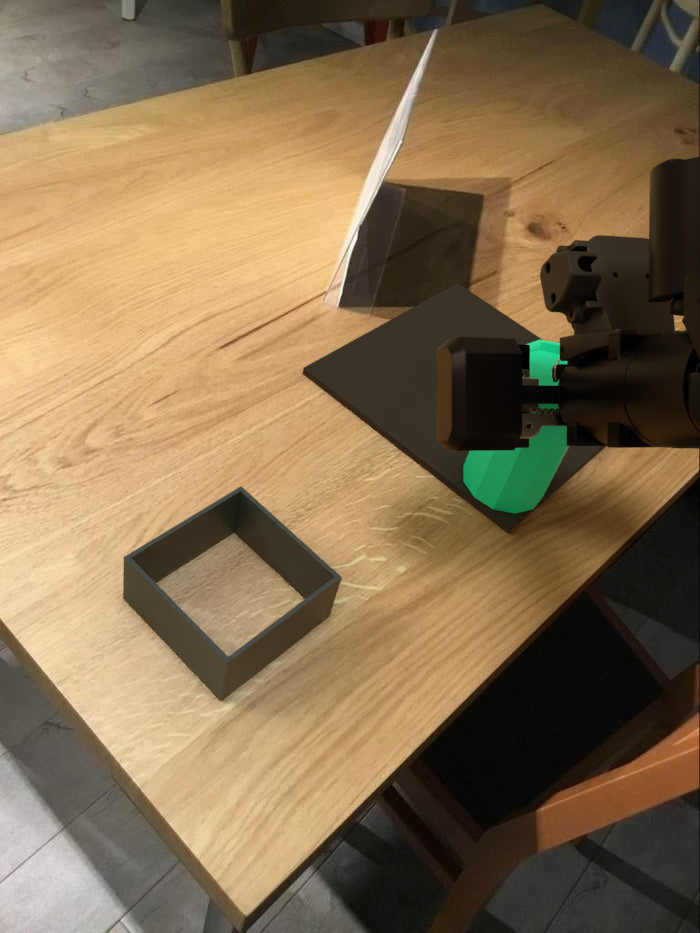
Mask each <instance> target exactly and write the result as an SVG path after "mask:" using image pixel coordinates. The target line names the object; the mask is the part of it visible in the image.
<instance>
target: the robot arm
mask: <svg viewBox="0 0 700 933" xmlns="http://www.w3.org/2000/svg"><path fill="white" fill-rule="evenodd" d="M648 211H649V212H648V214H649V215H648V216H649V217H648V218H649V222H648V238H647V237H636V236H635V237H634V236H619V235H606V234H605V235H602V234H600V235H598V234H597V235H594V236H592V237H591V238H590V239H588V240H581V239H580V240H579V239H574V240H573V241H572V242H571V243H570V244H568V245H558V247H556V250H555V252H554V253H552V254H551V255H550V256H549V257H548V258H547V259H546V260H545V262H544V263H543V264H542V265H541V268H540V272H539V278H540V279H539V280H540V285H541V289H542V295H543V301H544V307H545V308H546V310H548V312H549V313H560V314H563V315H564V316H565V317H566V321H567V323H568V324H570V326H571V328H572V329H573V334H572V335H571V334H570V335H566V336H563V337H562V336H561V337H559V343H560V360H561V361H567V364H556V365H554V366H553V367H552V379H553V382H558V380H559V383H558V386H546V385H539V379H531V378H530V345H524V344H517V342H516V340H515V338H481V337H457V338H453V339H449V340H446V341H445V342H444V343H443V344H442V345H441V346H440V347H439V348H438V349H437V441H438V442H439V443H440V444H441V445H442V446H443V447H444V449H445V450H453V451H493V450H515V448H529V438H533V437H535V436H536V435H537V434H538V433H539V431H540V429H541V428H542V427H543V426H567V446H605V447H607V448H615V449H622V448H624V449H625V448H626V449H627V448H628V449H629V448H633V449H634V448H635V449H636V448H667V449H668V448H669V449H682V450H683V449H685V450H686V449H695V450H696V449H698V450H700V156H694V157H690V158H669V159H667V160H664V161H662V162H660V163H658V164H657V165H655V166H654V167H653V168H652V169H651V170H650V171H649V210H648ZM675 316H678V317H683V318H682V319H681V322H682V324H683V326H684V327H685V328H684V330H676V326H675V325H676V324H675ZM539 404H558V409H556V410H554V408H551V409H549V411H548V408H544V409H543V411H542V408H539ZM530 412H536V413H530Z"/></svg>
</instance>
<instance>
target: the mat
mask: <svg viewBox="0 0 700 933" xmlns="http://www.w3.org/2000/svg"><path fill="white" fill-rule="evenodd" d="M457 337H481V338H515V340H516V342H517V344H524V345H525V344H528V343H531V342H534V341H537V340H543V339H542V338H541V337H540V336H538V335H536V334H535V333H533V332H532V331H530V330H529V329H527V328H526V327H525V326H523V325H521V323H518V322H517V321H516V320H514V319H513V318H511V317H509V316H508V315H506V313H503V312H502V311H500V310H499V309H497V308H496V307H495V306H493V305H492V304H490V303H488V302H487V301H485V300H484V299H483V298H481V297H480V296H478V295H477V294H475V293H473V292H472V291H470V290H469V289H468V288H466V287H464V286H463V285H461V284H460V283H459V282H457V283H455V284H453V285H451V286H449V287H448V288H446V289H444V290H442V291H441V292H438V293H437V294H435V295H433V296H432V297H430V298H429V297H428V298H427V299H426V300H424V301H422V302H420V303H419V304H417V305H415V306H412V307H411V308H410V309H408V310H406V311H403V312H402V313H401V314H399V315H397V316H396V317H393V318H391V319H390V320H387V321H386V322H384V323H382V324H380V325H378V326H376V327H375V328H373V329H371V330H370V331H367V332H366V333H364V334H362V335H361V336H359V337H357V338H355V339H353V340H352V341H349V342H347V343H346V344H344V345H342V346H340V347H339V348H337V349H335V350H333V351H330V352H329V353H328V354H325V355H324V356H322V357H320V358H318V359H317V360H315V361H313V362H311V363H310V364H308V365H306V366H304V367H303V369H302V374H303V375H304V376H305V377H307V378H308V379H309V380H311V381H312V382H313V383H314V384H316V385H317V386H318V387H320V388H321V389H322V390H323V391H325V393H327V394H329V395H330V396H331V397H333V398H334V399H335V400H336V401H338V402H339V403H340V404H341V405H342V406H344V407H345V408H346V409H347V410H349V411H350V412H352V413H353V414H354V415H355V416H357V417H358V418H359V419H361V420H362V421H363V422H364V423H366V424H367V425H369V426H370V427H371V428H372V429H373V430H375V432H377V433H379V434H380V435H381V436H382V437H384V438H385V439H386V440H388V441H389V443H391V444H393V445H394V446H396V447H397V448H398V449H399V450H401V451H402V452H403V453H404V454H406V456H408V457H409V458H411V459H412V461H414V462H416V463H417V464H418V465H419V466H421V467H422V468H424V469H425V470H426V471H427V472H429V473H430V474H431V475H432V476H434V477H435V478H437V479H438V480H439V481H440V482H442V483H443V484H444V485H445V486H447V487H448V488H449V489H451V490H452V491H453V492H454V493H456V494H457V495H458V496H459V497H461V498H462V499H463V500H464V501H466V502H467V503H468V504H470V505H472V507H474V508H475V509H476V510H477V511H479V512H480V513H481V514H483V516H485V517H486V518H488V519H489V520H490V521H491V522H493V523H494V524H495V525H497V526H498V527H499V528H501V529H502V530H503V531H504V532H506V533H508V534H509V533H511V532H512V531H513V530H514V529H515V528H516V527H517V526H518V525H519V524H521V523H522V522H523V521H524V520H525V519H526V518H527V517H529V516H530V515H531V514H532V513H533V512H534V511H535V510H536V509H537V508H538V507H540V506H541V505H542V504H543V503H544V502H546V500H548V498H550V497H551V496H552V495H553V494H554V493H555V492H556V491H558V490H559V489H560V488H561V487H562V486H563V485H564V484H565V483H566V482H568V481H569V480H570V479H571V478H573V476H574V475H576V474H577V473H578V471H580V470H581V469H582V468H584V466H585V465H587V464H588V463H589V462H590V461H591V460H592V459H593V458H594V457H596V455H598V454H599V453H600V452H601V451H602V450H603V449H604V448H606V446H569V448H568V450H567V452H566V454H565V455H564V457H563V459H562V461H561V463H560V465H559V467H558V469H557V471H556V473H555V475H554V477H553V479H552V481H551V482H550V484H549V486H548V488H547V490H546V492H545V494H544V496H543V498H542V499H541V500H540V501H539V503H538V504H537V505H536V506H535V508H534V509H532V510H528V511H524V512H520V513H516V514H514V513H509V512H504V511H499V510H494V509H492V508H490V507H489V506H487V505H486V504H484V503H482V502H481V501H479V500H478V499H476V498H475V497H474V496H473V495H472V493H471V492H470V490H469V489H468V487H467V486H466V484H465V483H464V481H463V466H464V463H465V461H466V458H467V456H468V454H469V451H453V450H445V449H444V447H443V446H442V445H441V444H440V443H439V442H438V441H437V349H438V348H439V347H440V346H441V345H442V344H443V343H444V342H445V341H446V340H449V339H453V338H457Z"/></svg>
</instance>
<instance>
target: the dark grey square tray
mask: <svg viewBox="0 0 700 933" xmlns="http://www.w3.org/2000/svg"><path fill="white" fill-rule="evenodd" d="M233 533H235V534H236V536H238V537H239V538H240V539H241V540H242V541H243V542H244V543H246V545H248V546H249V548H251V549H252V550H253V551H254V552H255V553H256V554H257V555H258V556H259V557H260V558H261V559H262V560H263V561H264V562H265V563H267V564H268V565H269V566H270V567H271V568H272V569H273V570H274V571H275V572H276V573H277V574H278V575H279V576H281V577H282V579H284V580H285V581H286V582H287V583H288V584H289V585H290V586H291V587H292V588H293V589H294V590H296V592H298V593H299V595H301V596H302V597H303V598H304V599H303V600H301V601H300V602H299V603H298V604H297V605H295V606H294V607H292V608H291V609H290V610H289V611H287V612H286V613H284V614H283V615H282V616H281V617H279V618H278V619H277V620H275V621H274V622H272V623H271V624H270V625H269V626H267V627H266V628H265V629H263V630H262V631H261V632H259V633H257V635H255V636H254V637H253V638H251V639H250V640H248V641H247V642H246V643H245V644H243V645H242V646H240V647H239V648H238V649H236V650H235V651H234V652H232V653H231V654H230V655H229V656H228V655H227V654H226V653H225V652H224V651H223V650H222V649H221V648H220V647H219V646H218V645H217V644H216V643H215V642H214V640H212V639H211V637H209V635H207V633H206V632H204V630H202V629H201V628H200V626H199V625H198V624H196V622H195V621H194V620H193V619H192V618H191V617H190V616H189V615H188V614H187V613H186V612H185V611H184V610H183V609H182V608H181V607H180V606H179V605H178V603H176V602H175V601H174V600H173V599H172V598H171V597H170V596H169V594H167V592H165V591H164V590H163V589H162V587H161V586H159V585H158V584H157V582H159V581H160V580H162V579H164V578H165V577H166V576H168V575H170V574H171V573H172V572H174V571H176V570H177V569H179V568H181V567H182V566H184V565H185V564H187V563H188V562H190V561H192V560H193V559H195V558H196V557H198V556H199V555H201V554H203V553H204V552H206V551H207V550H209V549H210V548H212V547H213V546H215V545H216V544H218V543H220V542H221V541H222V540H224V539H226V538H227V537H229V536H230V535H232V534H233ZM122 576H123V580H122V581H123V582H122V584H123V586H122V588H123V589H122V590H123V591H122V598H123V600H124V601H125V602H126V603H127V604H128V605H129V606H130V607H131V608H132V609H133V610H134V611H135V612H136V613H137V615H139V617H140V618H141V619H142V620H143V621H144V622H145V623H146V624H147V625H148V626H149V628H151V629H152V630H153V631H154V633H155V634H157V636H158V637H159V638H160V639H161V640H162V641H163V642H164V643H165V644H166V645H167V646H168V647H169V648H170V649H171V651H173V652H174V654H175V655H176V656H177V657H178V658H179V659H180V660H181V661H182V662H183V663H184V664H185V665H186V666H187V667H188V668H189V670H191V672H192V673H193V674H194V675H195V676H196V677H197V678H198V679H199V680H200V681H201V683H203V684H204V686H206V687H207V688H208V690H209V691H210V692H211V693H212V694H213V695H214V696H215V697H216V698H217V700H219V701H220V702H222V701H223V700H225V698H227V697H228V696H230V695H231V694H232V693H233V692H235V691H236V690H237V689H239V688H240V687H241V686H242V685H244V684H245V683H246V682H247V681H249V680H250V679H251V678H252V677H254V676H255V675H256V674H258V673H259V672H260V671H261V670H262V669H264V668H265V667H266V666H268V665H269V664H270V663H271V662H273V661H274V660H275V659H277V658H278V657H280V656H281V655H282V654H283V653H284V652H286V651H287V650H288V649H290V648H291V647H292V646H293V645H295V644H296V643H297V642H299V641H300V640H301V639H302V638H304V637H305V636H306V635H307V634H309V633H310V632H311V631H312V630H313V629H315V628H317V627H318V626H319V625H320V624H321V623H323V622H324V621H325V620H327V619H328V618H329V617H330V615H331V613H332V609H333V607H334V604H335V600H336V597H337V594H338V591H339V588H340V584H341V581H342V578H343V577H342V576H341V575H340V574H339V573H338V572H337V571H336V570H335V569H333V568H332V567H331V566H330V565H329V564H328V563H327V562H326V561H325V560H323V559H322V557H320V556H319V555H318V554H317V553H316V552H315V551H314V550H313V549H312V548H310V547H309V545H307V544H306V543H305V542H304V541H303V540H301V539H300V538H299V537H298V536H297V535H296V534H295V533H293V531H292V530H291V529H289V528H288V527H287V526H286V525H285V524H284V523H283V522H281V521H280V520H279V519H278V517H276V516H275V515H274V514H273V513H272V512H270V511H269V509H267V508H266V507H265V506H264V505H263V504H262V503H260V502H259V501H258V499H256V498H255V497H254V496H253V495H252V494H250V492H248V490H246V489H245V488H244V487H243V486H239V487H237V488H236V489H234V490H232V491H230V492H229V493H227V494H225V495H224V496H222V497H221V498H218V500H216V501H214V502H212V503H211V504H209V505H208V506H206V507H204V508H202V509H201V510H199V511H197V512H196V513H194V514H192V515H191V516H189V517H187V518H186V519H184V520H182V521H181V522H179V523H177V524H176V525H174V526H173V527H171V528H169V529H168V530H166V531H165V532H162V533H161V534H159V535H158V536H156V537H155V538H153V539H151V540H149V541H147V542H146V543H144V544H143V545H141V546H140V547H137V548H136V549H135V550H133V551H131V552H130V553H128V554H126V555H125V556H123V574H122Z"/></svg>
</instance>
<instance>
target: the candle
mask: <svg viewBox="0 0 700 933" xmlns="http://www.w3.org/2000/svg"><path fill="white" fill-rule="evenodd" d="M525 345H530V378H531V379H539V385H546V386H558V383H559V380H558V382H553V379H552V367H553V366H554V365H556V364H567V361H561V360H560V342H558V341H557V342H555V341H551V340H545V339H542V340H537V341H534V342H531V343H528V344H525ZM539 408H542V411H543V409H544V408H548V411H549V409H551V408H554V410H556V409H558V404H539ZM530 413H536V412H530ZM568 448H569V446H567V426H543V427H542V428H541V429H540V431H539V433H538V434H537V435H536V436H535V437H533V438H529V448H515V450H493V451H469V454H468V456H467V458H466V461H465V463H464V466H463V481H464V483H465V484H466V486H467V487H468V489H469V490H470V492H471V493H472V495H473V496H474V497H475V498H476V499H478V500H479V501H481V502H482V503H484V504H486V505H487V506H489V507H490V508H492V509H494V510H499V511H504V512H509V513H514V514H516V513H520V512H524V511H528V510H532V509H534V508H535V506H536V505H537V504H538V503H539V501H540V500H541V499H542V498H543V496H544V494H545V492H546V490H547V488H548V486H549V484H550V482H551V481H552V479H553V477H554V475H555V473H556V471H557V469H558V467H559V465H560V463H561V461H562V459H563V457H564V455H565V454H566V452H567V450H568Z"/></svg>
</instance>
